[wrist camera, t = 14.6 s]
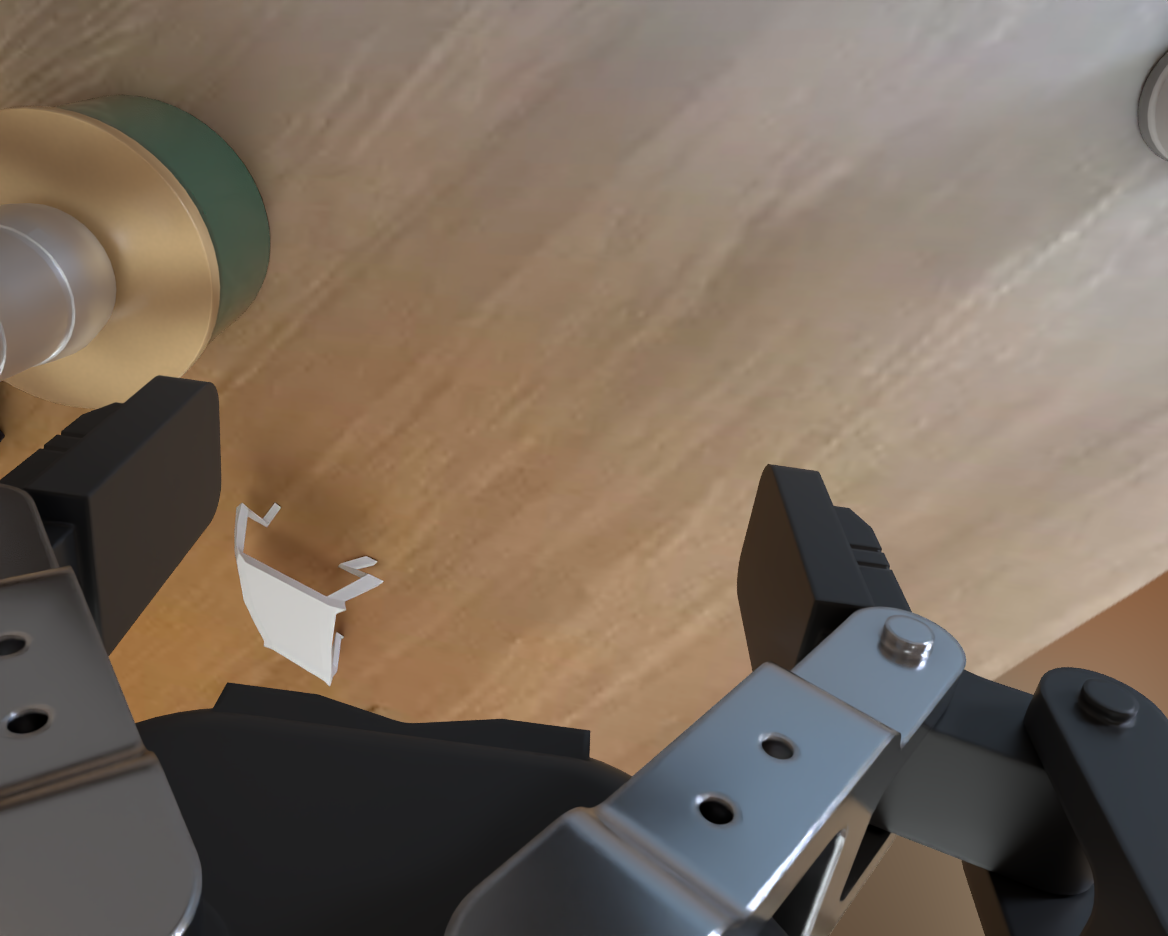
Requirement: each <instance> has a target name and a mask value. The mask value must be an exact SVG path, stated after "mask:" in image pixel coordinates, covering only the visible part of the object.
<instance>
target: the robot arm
mask: <svg viewBox="0 0 1168 936" xmlns="http://www.w3.org/2000/svg"><path fill="white" fill-rule="evenodd" d="M220 491H221V454H220V421H219V398H218V393H217V389H216V387H215V386H214V384H213V383H210V382H203V381H197V380H190V379H183V378H176V377H169V376H162V375H158V376H156V377H154V378H153V379H152V380H150V381H149V382H148V383H147V384H146V385H145V386H143V387H142V388H141V389H140V390H139V391H137V392H136V393H135V394H134V395H133V396H131V397H130V398H129V399H128V400H127V401H125V402H124V403H118V402H115V403H112V404H109V405H107V406H104V407H101V408H99V409H96V410H93V411H91V412H88V413H85V414H83V415H81V416H80V417H79V418H78V419H76V420H75V421H74V422H72V423H71V424H70V425H69V426H67V427H66V428H65V429H64V430H62V431H61V435H56V436H55V437H54V438H52V439H51V440H50V441H49V442H47V443H46V444H45V445H44V449H39V450H37V451H36V452H35V453H34V454H32V455H31V456H30V457H29V458H27V459H26V460H25V461H24V462H22V463H21V464H20V465H19V466H17V467H16V468H15V469H13V470H12V471H11V472H10V473H8V474H7V475H6V476H5V477H3V478H2V479H1V480H0V936H829V935H830V933H831V932H832V930H833V929H834V927H835V926H836V924H837V923H838V921H839V920H840V919H841V917H842V916H843V914H844V913H845V911H846V910H847V908H848V907H849V905H850V904H851V902H852V901H853V900H854V898H855V897H856V895H857V894H858V892H859V891H860V889H861V888H862V887H863V885H864V884H865V882H866V881H867V879H868V878H869V876H870V875H871V873H872V872H873V870H874V869H875V868H876V866H877V865H878V863H879V862H880V860H881V859H882V857H883V856H884V855H885V853H886V852H887V850H888V849H889V847H890V846H891V844H892V843H893V841H894V839H895V837H896V835H899V836H901V837H904V838H907V839H909V840H912V841H914V842H917V843H919V844H922V845H925V846H927V847H930V848H933V849H935V850H938V851H940V852H943V853H945V854H948V855H951V856H953V857H956V858H958V859H961V860H962V864H963V869H964V872H965V875H966V878H967V881H968V885H969V888H970V891H971V894H972V897H973V900H974V903H975V906H976V909H977V912H978V915H979V918H980V921H981V924H982V928H983V930H984V934H985V936H1168V719H1167V718H1166V716H1165V715H1164V714H1163V713H1162V711H1161V710H1160V709H1159V708H1158V707H1157V706H1156V705H1155V704H1154V703H1152V702H1151V701H1150V700H1149V699H1148V698H1146V697H1145V696H1144V695H1142V694H1141V693H1139V692H1138V691H1136V690H1135V689H1133V688H1131V687H1130V686H1128V685H1126V684H1124V683H1122V682H1120V681H1118V680H1116V679H1114V678H1111V677H1109V676H1106V675H1104V674H1100V673H1097V672H1094V671H1090V670H1086V669H1081V668H1072V667H1070V668H1069V667H1062V668H1056V669H1053V670H1050V671H1048V672H1047V673H1045V674H1044V675H1043V677H1042V678H1041V680H1040V682H1039V684H1038V687H1037V689H1036V691H1035V693H1034V695H1032V694H1029V693H1026V692H1023V691H1020V690H1017V689H1014V688H1011V687H1008V686H1005V685H1002V684H999V683H996V682H993V681H990V680H988V679H985V678H982V677H980V676H977V675H975V674H973V673H971V672H968V671H966V670H964V668H965V665H966V656H965V653H964V651H963V648H962V647H961V645H960V644H959V643H958V641H957V640H956V639H955V638H954V637H953V636H952V635H951V634H950V633H948V632H947V631H946V630H945V629H943V628H942V627H940V626H939V625H937V624H936V623H934V622H932V621H930V620H928V619H926V618H924V617H922V616H920V615H917V614H914V613H912V611H911V609H910V607H909V605H908V603H907V601H906V599H905V597H904V595H903V592H902V590H901V588H900V586H899V584H898V582H897V580H896V578H895V576H894V573H893V571H892V570H889V567H890V565H889V563H888V561H887V559H886V557H885V555H884V553H881V550H882V548H881V546H880V544H879V542H878V540H877V538H876V536H875V534H874V531H873V529H872V528H871V527H870V526H869V525H868V524H867V523H866V522H864V521H863V520H862V519H861V518H860V517H859V516H858V515H857V514H855V513H854V512H853V511H852V510H851V509H850V508H844V507H837V506H833V504H832V501H831V499H830V497H829V494H828V492H827V489H826V487H825V485H824V482H823V480H822V478H821V475H820V473H819V472H818V471H813V470H806V469H799V468H792V467H785V466H778V465H771V464H768V465H767V466H766V467H765V469H764V470H763V473H762V475H761V478H760V482H759V486H758V490H757V494H756V497H755V501H754V505H753V509H752V513H751V517H750V521H749V525H748V529H747V532H746V536H745V540H744V544H743V548H742V552H741V556H740V561H739V567H738V577H737V595H738V601H739V606H740V611H741V616H742V621H743V626H744V631H745V636H746V641H747V646H748V651H749V656H750V661H751V666H752V671H753V672H752V673H751V674H750V675H749V676H748V677H746V678H745V679H744V680H743V681H742V682H741V683H740V684H738V685H737V686H736V687H735V688H734V689H733V690H731V691H730V692H729V693H728V694H727V695H726V696H725V697H723V698H722V699H721V700H720V701H719V702H718V703H716V704H715V705H714V706H713V707H712V708H711V709H710V710H708V711H707V712H706V713H705V714H704V715H703V716H702V717H700V718H699V719H698V720H697V721H696V722H695V723H693V724H692V725H691V726H690V727H689V728H688V729H687V730H685V731H684V732H683V733H682V734H681V735H680V736H678V737H677V738H676V739H675V740H674V741H673V742H672V743H670V744H669V745H668V746H667V747H666V748H665V749H663V750H662V751H661V752H660V753H659V754H658V755H657V756H655V757H654V758H653V759H652V760H651V761H650V762H649V763H647V764H646V765H645V766H644V767H643V768H642V769H640V770H639V771H638V772H637V773H636V774H635V775H634V776H630V775H628V774H627V773H625V772H623V771H621V770H619V769H617V768H615V767H613V766H610V765H608V764H606V763H604V762H601V761H598V760H596V759H593V758H590V757H589V752H590V730H582V729H574V728H567V727H559V726H552V725H544V724H537V723H529V722H522V721H514V720H507V719H490V720H470V721H450V722H430V723H404V722H399V721H395V720H392V719H389V718H386V717H383V716H381V715H378V714H375V713H372V712H369V711H366V710H363V709H360V708H357V707H354V706H351V705H348V704H345V703H342V702H339V701H336V700H333V699H330V698H327V697H324V696H321V695H318V694H310V693H303V692H295V691H288V690H280V689H273V688H265V687H258V686H250V685H243V684H235V683H227V684H226V686H225V688H224V689H223V691H222V693H221V695H220V697H219V698H218V700H217V702H216V704H215V706H214V707H213V708H211V709H199V710H192V711H184V712H177V713H173V714H168V715H164V716H159V717H155V718H151V719H148V720H145V721H141V722H138V723H135V722H134V720H133V717H132V715H131V712H130V710H129V707H128V705H127V702H126V700H125V697H124V695H123V692H122V690H121V687H120V685H119V682H118V680H117V677H116V675H115V672H114V670H113V667H112V665H111V662H110V660H109V657H108V656H109V655H110V654H111V652H112V651H113V650H114V649H115V647H116V646H117V645H118V643H119V642H120V641H121V639H122V638H123V637H124V635H125V634H126V633H127V631H128V630H129V629H130V628H131V626H132V625H133V624H134V622H135V621H136V620H137V618H138V617H139V616H140V614H141V613H142V612H143V610H144V609H145V608H146V606H147V605H148V604H149V603H150V601H151V600H152V599H153V597H154V596H155V595H156V593H157V592H158V591H159V589H160V588H161V587H162V585H163V584H164V583H165V582H166V580H167V579H168V578H169V576H170V575H171V574H172V572H173V571H174V570H175V568H176V567H177V566H178V564H179V563H180V562H181V561H182V559H183V558H184V557H185V555H186V554H187V553H188V551H189V550H190V549H191V547H192V546H193V545H194V543H195V542H196V541H197V539H198V538H199V537H200V536H201V534H202V533H203V532H204V530H205V529H206V528H207V526H208V525H209V524H210V522H211V521H212V519H213V517H214V515H215V512H216V509H217V506H218V502H219V497H220Z"/></svg>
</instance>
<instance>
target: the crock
mask: <svg viewBox="0 0 1168 936" xmlns="http://www.w3.org/2000/svg"><path fill="white" fill-rule="evenodd" d="M18 203H34V204H43V205H47V206H50V207H54V208H57V209H59V210H61V211H63V212H65V213H67V214H69V215H71V216H72V217H74V218H75V219H77V220H78V221H79V222H81V223H82V224H84V225H85V226H86V227H87V228H88V229H89V230H90V231H91V232H92V233H93V234H94V235H95V237H96V238H97V239H98V241H99V242H100V244H101V245H102V246H103V248H104V249H105V251H106V253H107V255H108V257H109V259H110V261H111V265H112V268H113V271H114V274H115V281H116V300H115V305H114V308H113V311H112V314H111V316H110V318H109V319H108V321H107V323H106V324H105V326H104V327H103V328H102V329H101V331H100V332H99V333H98V334H97V335H96V337H95V338H94V339H93V340H92V341H91V342H90V343H89V344H88V345H87V346H86V347H84V348H83V349H81V350H79V351H78V352H76V353H74V354H71V355H69V356H66V357H64V358H61V359H58V360H56V361H53V362H49V363H46V364H43V365H38V366H34V367H31V368H29V369H27V370H25V371H22V372H20V373H18V374H16V375H14V376H12V377H9V378H7V379H5V380H3V381H5V382H6V383H8V384H10V385H12V386H14V387H15V388H17V389H19V390H21V391H24V392H26V393H28V394H31V395H33V396H35V397H38V398H41V399H44V400H47V401H50V402H53V403H57V404H62V405H67V406H72V407H80V408H92V409H97V408H101V407H104V406H107V405H109V404H112V403H115V402H118V403H124V402H125V401H127V400H128V399H129V398H130V397H131V396H133V395H134V394H135V393H136V392H137V391H139V390H140V389H141V388H142V387H143V386H145V385H146V384H147V383H148V382H149V381H150V380H152V379H153V378H154V377H156V376H158V375H162V376H169V377H176V378H180V377H182V376H183V375H184V374H185V373H186V372H187V371H188V370H189V369H190V368H191V367H192V366H193V365H194V364H195V362H196V361H197V360H198V358H199V357H200V356H201V354H202V353H203V351H204V349H205V348H206V346H207V345H208V344H209V343H211V342H212V341H213V340H214V339H215V338H216V337H217V336H219V335H220V334H221V333H222V332H223V331H224V330H225V329H227V328H228V327H229V326H230V325H231V324H232V323H234V322H235V321H236V320H237V319H238V318H239V317H240V316H241V315H242V314H243V313H244V312H245V311H246V310H247V309H248V307H249V306H250V305H251V304H252V302H253V301H254V300H255V298H256V296H257V294H258V292H259V290H260V289H261V286H262V284H263V281H264V278H265V275H266V272H267V267H268V262H269V252H270V236H269V226H268V221H267V215H266V211H265V208H264V205H263V202H262V199H261V196H260V193H259V191H258V189H257V187H256V185H255V183H254V180H253V178H252V177H251V175H250V174H249V172H248V170H247V169H246V167H245V165H244V164H243V162H242V161H241V160H240V159H239V157H238V156H237V155H236V153H235V152H234V151H233V149H232V148H231V147H230V146H229V145H228V144H227V143H226V142H225V141H224V140H223V139H222V138H221V137H220V136H219V135H218V134H216V133H215V132H214V131H213V130H212V129H210V128H209V127H208V126H207V125H206V124H204V123H203V122H201V121H200V120H198V119H197V118H195V117H193V116H192V115H190V114H189V113H187V112H185V111H183V110H181V109H179V108H177V107H175V106H172V105H169V104H167V103H164V102H161V101H158V100H155V99H150V98H146V97H141V96H132V95H108V96H102V97H97V98H92V99H87V100H82V101H78V102H73V103H68V104H63V105H58V106H54V107H43V106H19V107H10V108H5V109H0V205H4V204H18Z"/></svg>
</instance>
